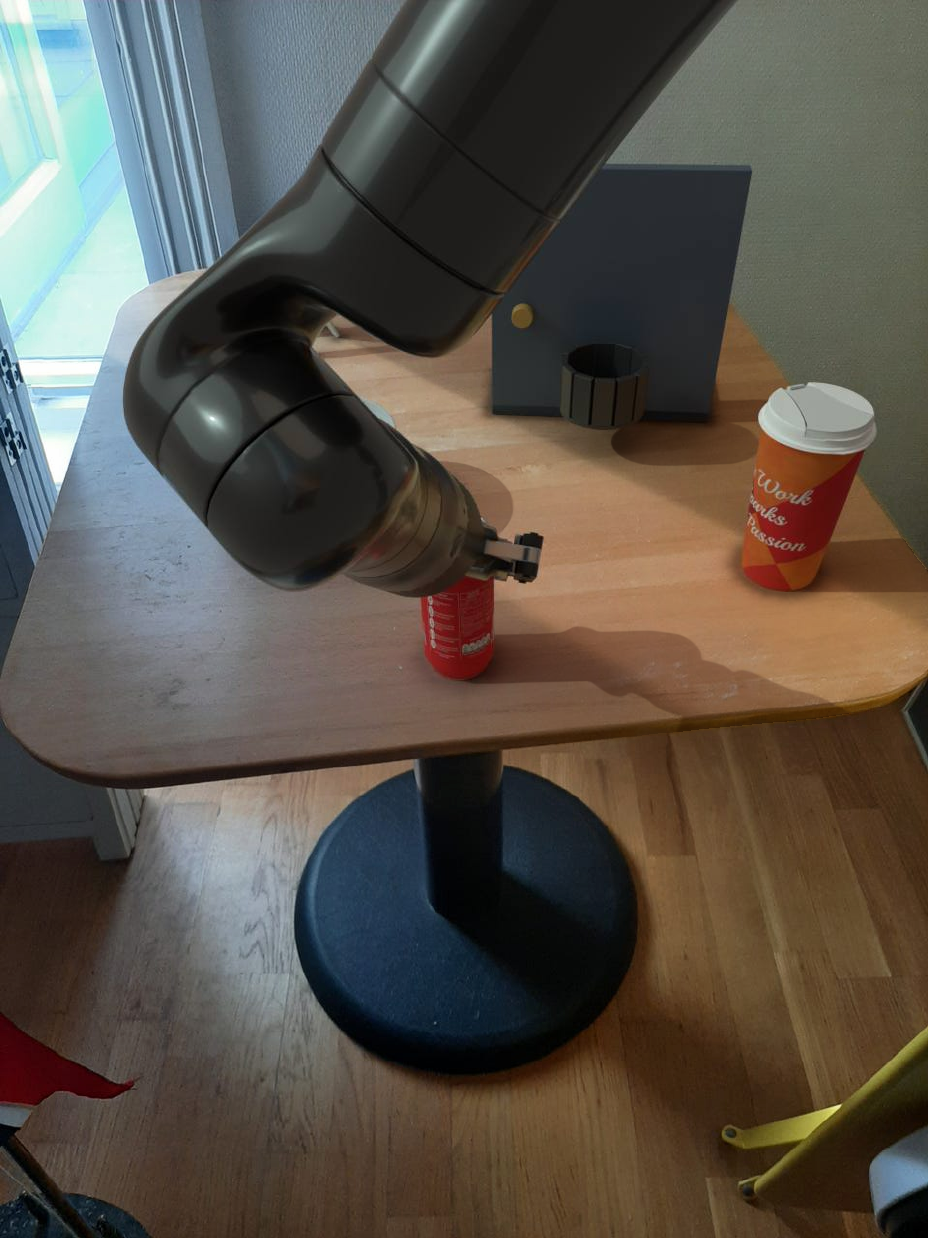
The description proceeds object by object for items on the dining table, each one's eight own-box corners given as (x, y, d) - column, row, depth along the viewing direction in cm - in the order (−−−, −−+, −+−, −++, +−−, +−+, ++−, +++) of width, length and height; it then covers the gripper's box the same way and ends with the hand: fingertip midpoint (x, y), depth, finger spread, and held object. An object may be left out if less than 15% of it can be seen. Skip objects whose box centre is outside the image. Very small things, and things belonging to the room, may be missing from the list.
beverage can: (434, 690, 67) (426, 561, 59) (418, 643, 71) (408, 515, 62) (502, 675, 68) (503, 547, 60) (483, 629, 72) (481, 502, 63)
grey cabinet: (701, 377, 100) (740, 137, 84) (715, 472, 87) (765, 207, 71) (500, 370, 103) (500, 135, 86) (483, 461, 89) (480, 202, 73)
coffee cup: (709, 548, 78) (740, 388, 68) (794, 529, 80) (837, 370, 70) (761, 611, 72) (804, 446, 62) (852, 589, 74) (908, 424, 64)
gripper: (543, 468, 47) (573, 521, 64) (284, 433, 50) (377, 493, 67) (517, 613, 47) (554, 629, 63) (259, 569, 50) (359, 595, 66)
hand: (463, 559), depth 65 cm, fingers closed on beverage can, 5 cm apart
